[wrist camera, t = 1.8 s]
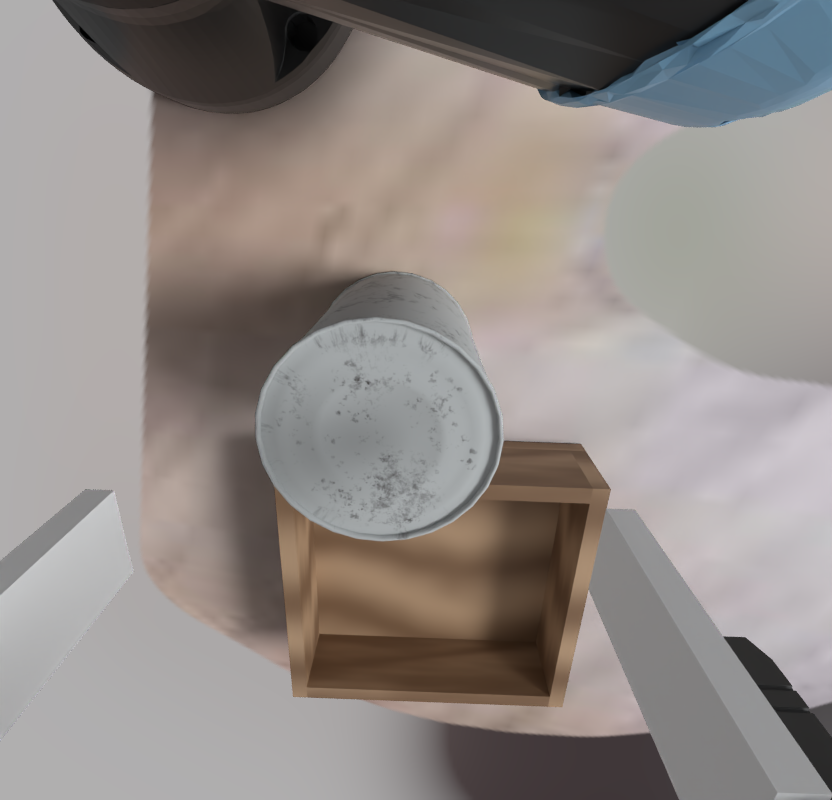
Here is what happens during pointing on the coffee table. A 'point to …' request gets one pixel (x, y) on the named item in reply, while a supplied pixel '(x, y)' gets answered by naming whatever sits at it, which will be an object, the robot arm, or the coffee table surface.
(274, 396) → the speckled white tin can
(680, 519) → the coffee table surface
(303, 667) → the walnut box
